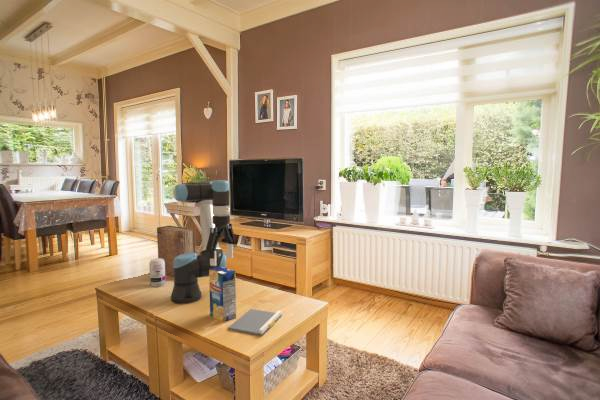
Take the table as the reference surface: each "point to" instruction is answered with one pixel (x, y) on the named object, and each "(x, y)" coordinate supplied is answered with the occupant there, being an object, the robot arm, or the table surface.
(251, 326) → the grey slab
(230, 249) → the robot arm
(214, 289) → the beverage box
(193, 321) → the table surface
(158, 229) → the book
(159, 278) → the supplement can
